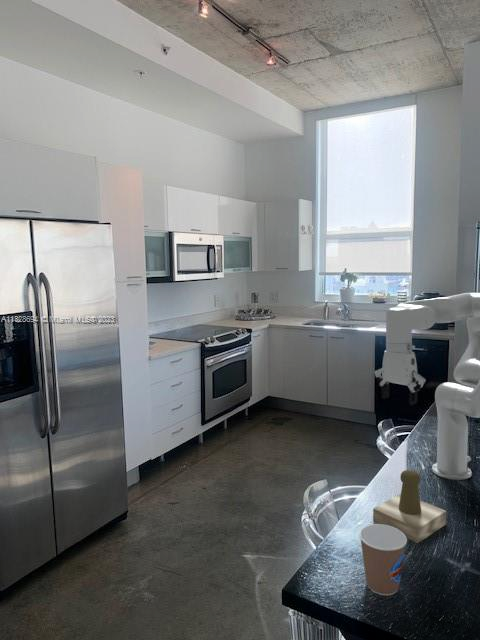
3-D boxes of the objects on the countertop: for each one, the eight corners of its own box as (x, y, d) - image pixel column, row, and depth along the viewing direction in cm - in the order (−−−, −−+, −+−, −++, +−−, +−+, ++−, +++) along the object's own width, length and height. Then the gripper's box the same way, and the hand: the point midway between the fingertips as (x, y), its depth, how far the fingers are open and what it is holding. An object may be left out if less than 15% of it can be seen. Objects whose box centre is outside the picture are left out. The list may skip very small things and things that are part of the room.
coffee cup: (399, 607, 102) (400, 554, 101) (352, 591, 108) (352, 540, 107) (410, 580, 111) (411, 531, 110) (367, 566, 117) (367, 519, 115)
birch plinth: (401, 505, 145) (401, 493, 145) (445, 524, 134) (446, 510, 134) (373, 521, 136) (373, 508, 136) (417, 543, 125) (418, 528, 125)
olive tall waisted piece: (422, 515, 131) (423, 477, 130) (399, 513, 133) (400, 475, 131) (419, 505, 137) (420, 468, 136) (397, 503, 139) (397, 466, 137)
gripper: (431, 348, 145) (431, 403, 147) (381, 342, 158) (382, 393, 160) (418, 352, 140) (417, 409, 142) (368, 346, 153) (368, 398, 155)
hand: (399, 400), depth 151 cm, fingers open, 9 cm apart
